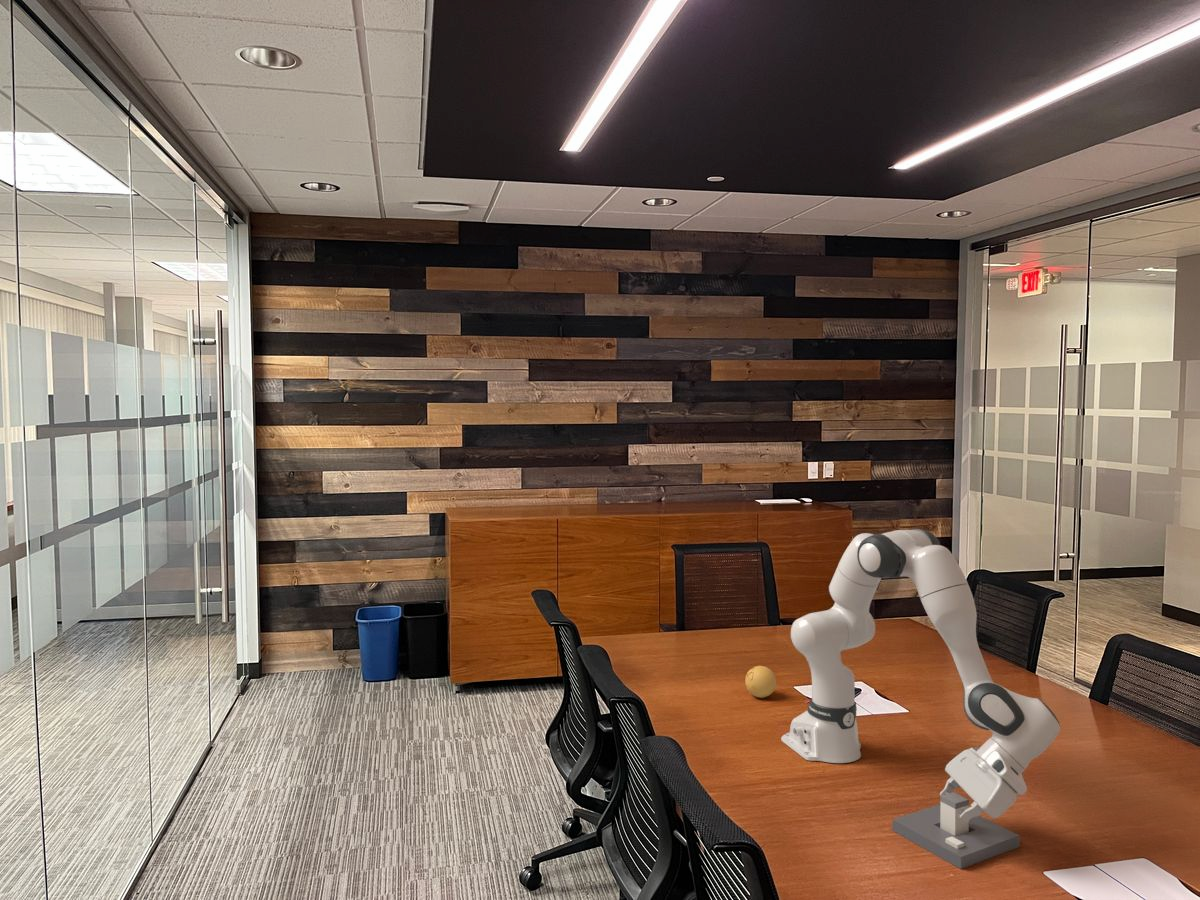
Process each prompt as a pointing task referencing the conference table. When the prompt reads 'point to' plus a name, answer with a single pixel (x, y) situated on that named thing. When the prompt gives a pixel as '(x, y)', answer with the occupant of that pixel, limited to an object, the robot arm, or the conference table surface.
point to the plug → (953, 814)
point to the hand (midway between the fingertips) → (951, 808)
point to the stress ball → (760, 681)
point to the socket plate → (961, 849)
